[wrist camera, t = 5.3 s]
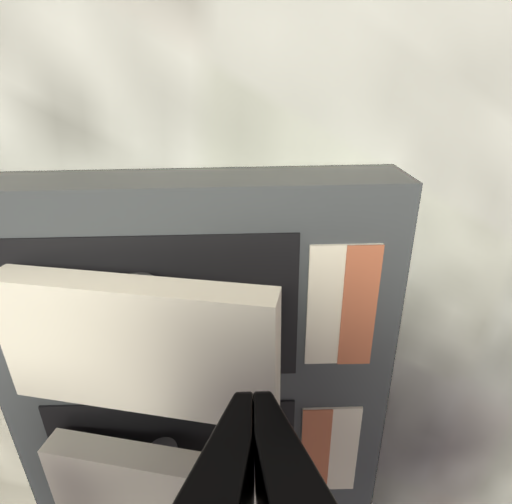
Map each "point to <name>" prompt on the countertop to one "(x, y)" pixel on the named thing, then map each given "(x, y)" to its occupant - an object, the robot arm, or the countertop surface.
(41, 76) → the countertop surface
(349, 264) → the switch unit
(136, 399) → the rocker
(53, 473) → the rocker
